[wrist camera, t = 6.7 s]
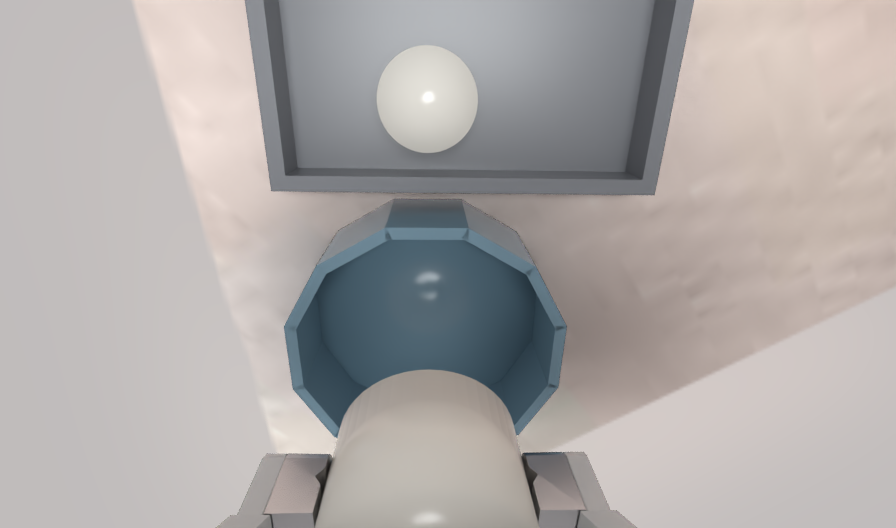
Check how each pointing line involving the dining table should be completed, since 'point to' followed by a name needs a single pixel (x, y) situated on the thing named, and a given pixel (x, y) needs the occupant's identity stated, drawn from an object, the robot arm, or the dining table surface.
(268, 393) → the dining table surface
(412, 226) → the bowl
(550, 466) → the robot arm
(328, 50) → the tray
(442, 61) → the stone
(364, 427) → the stone
